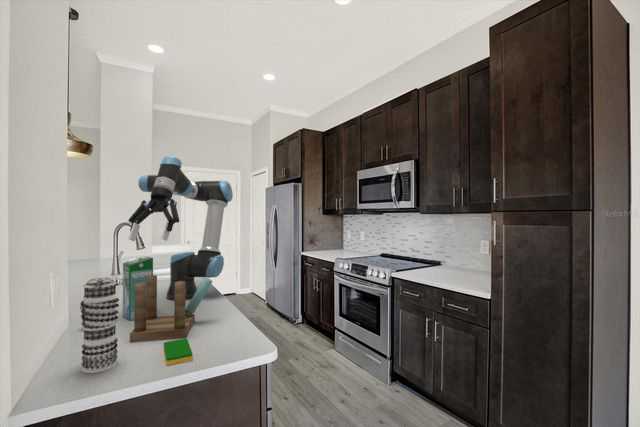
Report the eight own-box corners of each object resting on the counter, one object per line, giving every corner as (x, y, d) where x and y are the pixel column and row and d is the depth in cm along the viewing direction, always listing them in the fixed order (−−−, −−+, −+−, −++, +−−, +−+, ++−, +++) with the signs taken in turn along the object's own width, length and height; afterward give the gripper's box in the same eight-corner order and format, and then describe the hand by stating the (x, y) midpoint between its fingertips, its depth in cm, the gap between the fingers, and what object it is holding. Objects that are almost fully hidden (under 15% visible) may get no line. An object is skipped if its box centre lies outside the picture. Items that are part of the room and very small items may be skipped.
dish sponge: (186, 345, 108) (187, 337, 108) (192, 361, 96) (192, 353, 96) (163, 349, 104) (163, 341, 104) (166, 367, 92) (166, 358, 92)
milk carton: (122, 315, 136) (122, 257, 136) (145, 311, 143) (145, 255, 143) (129, 320, 130) (129, 259, 130) (153, 315, 137) (153, 257, 137)
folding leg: (186, 307, 129) (205, 276, 130) (194, 311, 129) (213, 280, 131) (184, 310, 125) (203, 278, 127) (193, 314, 126) (211, 282, 127)
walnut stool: (147, 323, 127) (147, 275, 127) (195, 320, 131) (195, 273, 131) (129, 342, 109) (130, 285, 109) (185, 337, 113) (186, 283, 113)
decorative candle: (93, 376, 86) (93, 283, 86) (72, 369, 89) (73, 280, 89) (126, 362, 94) (126, 277, 94) (105, 356, 98) (106, 275, 98)
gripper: (129, 187, 127) (111, 236, 118) (186, 184, 123) (172, 234, 113) (141, 196, 134) (125, 243, 124) (196, 194, 129) (183, 242, 120)
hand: (147, 239), depth 119 cm, fingers open, 13 cm apart
